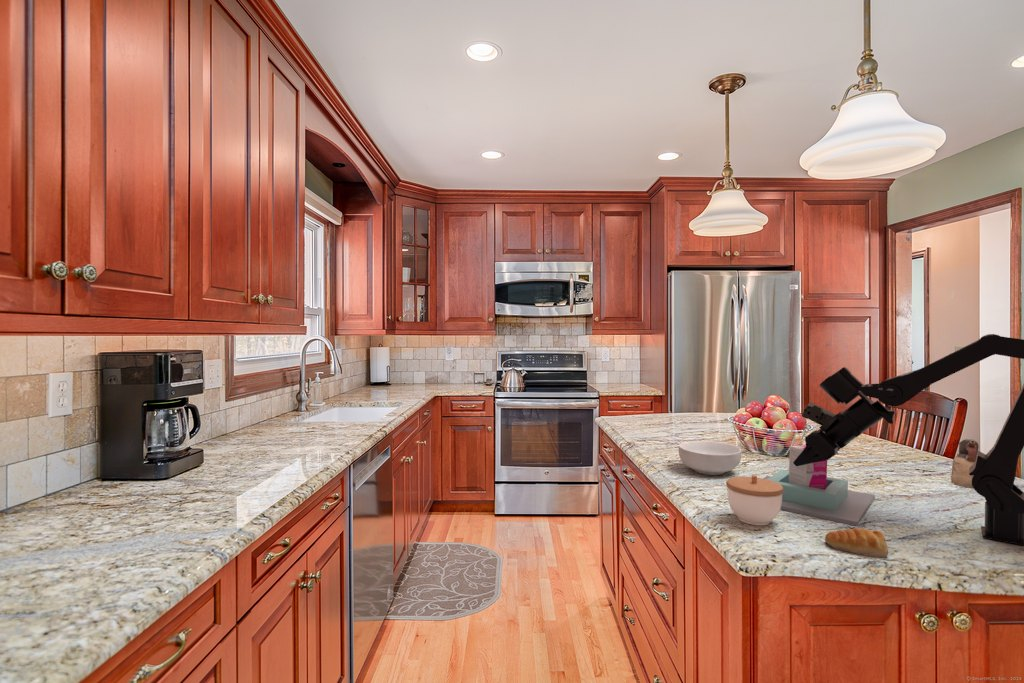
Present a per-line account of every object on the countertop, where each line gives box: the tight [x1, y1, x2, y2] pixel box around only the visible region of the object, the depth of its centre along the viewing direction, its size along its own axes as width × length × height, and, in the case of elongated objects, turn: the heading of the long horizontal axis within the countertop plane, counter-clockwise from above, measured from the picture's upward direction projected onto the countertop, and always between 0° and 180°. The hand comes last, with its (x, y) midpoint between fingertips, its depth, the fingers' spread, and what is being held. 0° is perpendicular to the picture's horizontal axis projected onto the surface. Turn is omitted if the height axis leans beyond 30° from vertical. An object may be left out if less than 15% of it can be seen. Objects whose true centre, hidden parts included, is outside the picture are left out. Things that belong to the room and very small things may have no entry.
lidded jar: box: [726, 474, 783, 526], centre depth 108 cm, size 11×11×9 cm
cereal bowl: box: [678, 440, 742, 476], centre depth 146 cm, size 17×17×7 cm
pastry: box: [824, 527, 890, 558], centre depth 94 cm, size 9×7×4 cm
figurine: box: [950, 438, 980, 489], centre depth 134 cm, size 7×7×12 cm
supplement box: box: [788, 445, 828, 490], centre depth 122 cm, size 6×6×12 cm
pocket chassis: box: [762, 469, 876, 527], centre depth 122 cm, size 24×24×4 cm
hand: (799, 460), depth 123 cm, fingers open, 9 cm apart
